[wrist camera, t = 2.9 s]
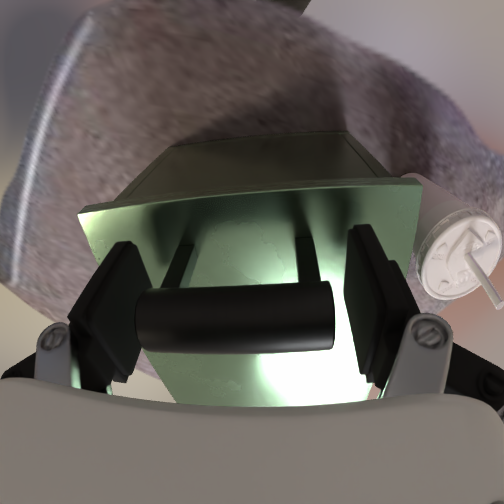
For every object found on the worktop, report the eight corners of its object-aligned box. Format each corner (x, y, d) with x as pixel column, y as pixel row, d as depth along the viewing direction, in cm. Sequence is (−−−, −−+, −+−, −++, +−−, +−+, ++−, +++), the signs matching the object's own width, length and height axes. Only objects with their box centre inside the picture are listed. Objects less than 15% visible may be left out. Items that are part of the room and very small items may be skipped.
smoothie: (439, 151, 20) (552, 249, 9) (441, 217, 24) (521, 332, 12) (371, 165, 22) (458, 283, 10) (380, 232, 25) (438, 365, 14)
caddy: (168, 147, 22) (92, 222, 12) (347, 130, 20) (412, 197, 11) (208, 304, 31) (186, 405, 22) (340, 297, 30) (360, 401, 20)
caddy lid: (85, 205, 12) (13, 285, 7) (415, 177, 10) (490, 261, 6) (186, 406, 22) (174, 465, 17) (360, 401, 20) (368, 464, 16)
